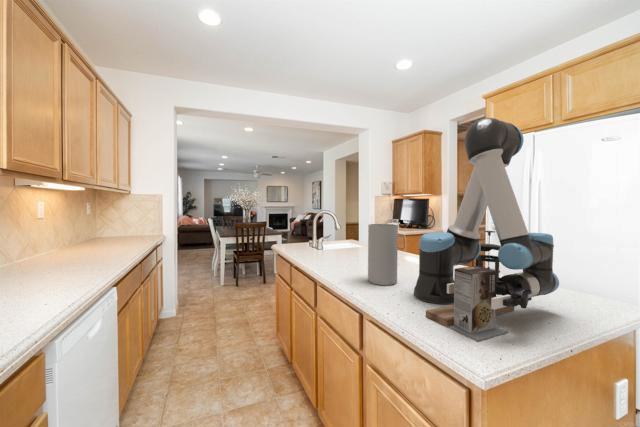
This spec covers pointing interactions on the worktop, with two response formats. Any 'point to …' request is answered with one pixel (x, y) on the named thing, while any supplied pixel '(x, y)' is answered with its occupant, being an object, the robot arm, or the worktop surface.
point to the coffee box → (474, 298)
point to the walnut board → (447, 314)
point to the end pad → (480, 333)
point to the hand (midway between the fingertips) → (468, 295)
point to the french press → (489, 256)
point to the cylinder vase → (382, 253)
